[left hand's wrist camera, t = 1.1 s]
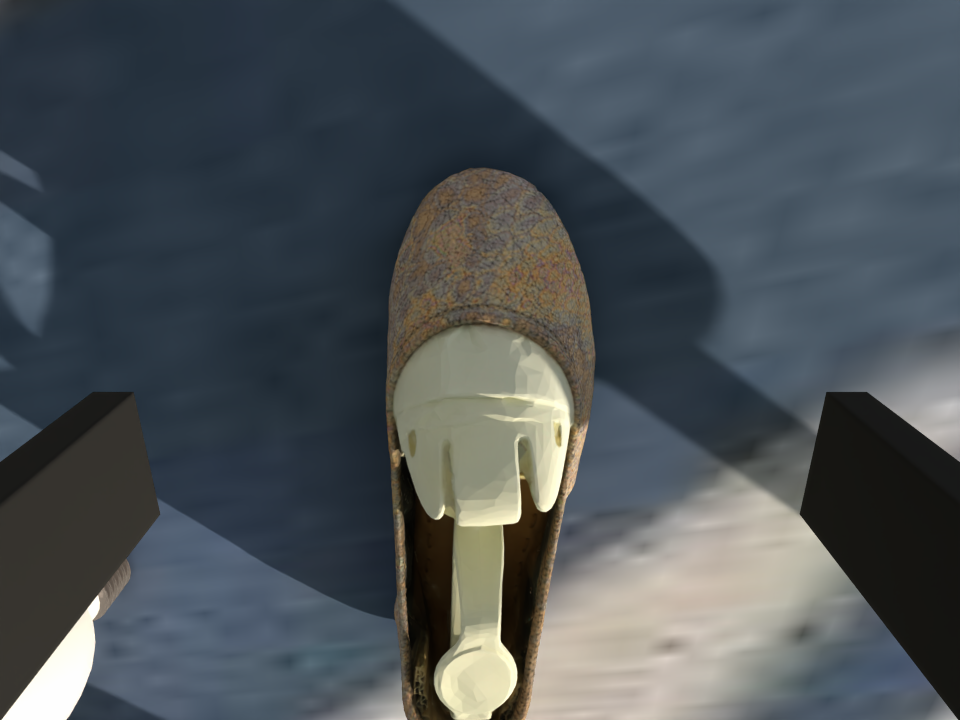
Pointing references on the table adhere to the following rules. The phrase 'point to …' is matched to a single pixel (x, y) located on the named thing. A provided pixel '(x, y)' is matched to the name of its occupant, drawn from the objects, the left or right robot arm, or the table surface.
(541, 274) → the ballet flat
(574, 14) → the table surface
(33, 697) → the light bulb
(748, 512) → the table surface
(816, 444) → the left robot arm
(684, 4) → the table surface
